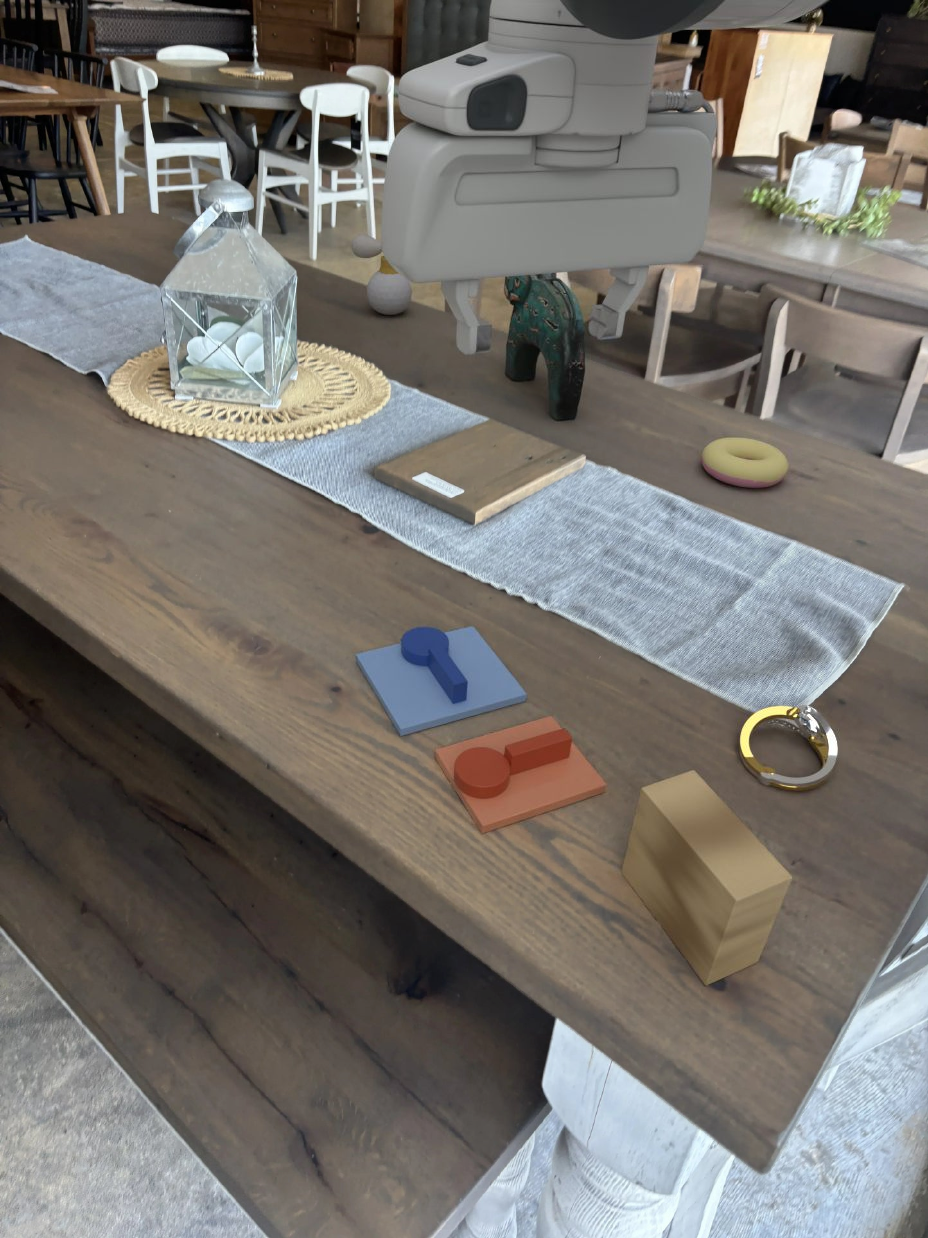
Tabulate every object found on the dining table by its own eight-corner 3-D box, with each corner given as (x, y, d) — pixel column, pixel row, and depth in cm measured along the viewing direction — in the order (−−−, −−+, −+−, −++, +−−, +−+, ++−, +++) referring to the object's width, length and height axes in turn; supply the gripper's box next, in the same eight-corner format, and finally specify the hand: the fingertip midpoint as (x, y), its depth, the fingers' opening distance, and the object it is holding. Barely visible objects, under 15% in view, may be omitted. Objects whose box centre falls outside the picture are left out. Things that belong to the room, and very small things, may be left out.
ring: (805, 817, 66) (850, 749, 70) (813, 790, 64) (859, 722, 68) (718, 771, 70) (767, 709, 74) (723, 744, 68) (773, 682, 72)
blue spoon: (482, 696, 72) (484, 676, 71) (436, 708, 71) (437, 689, 70) (436, 633, 79) (437, 614, 78) (394, 643, 77) (394, 624, 76)
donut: (772, 512, 106) (781, 470, 113) (789, 481, 103) (796, 439, 109) (691, 484, 108) (704, 444, 114) (704, 453, 104) (716, 413, 111)
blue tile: (526, 701, 73) (527, 693, 73) (400, 736, 69) (400, 729, 69) (472, 632, 81) (473, 625, 80) (355, 661, 76) (355, 653, 76)
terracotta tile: (605, 792, 66) (607, 784, 65) (482, 834, 62) (482, 826, 61) (550, 723, 71) (551, 715, 71) (434, 757, 68) (434, 749, 67)
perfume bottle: (414, 319, 151) (416, 243, 144) (356, 320, 149) (355, 243, 142) (407, 305, 157) (408, 232, 150) (351, 306, 155) (349, 231, 148)
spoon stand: (758, 962, 55) (793, 877, 50) (705, 986, 53) (736, 901, 49) (670, 853, 61) (693, 769, 57) (620, 872, 60) (640, 787, 55)
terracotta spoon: (552, 735, 69) (555, 715, 68) (579, 770, 66) (583, 750, 65) (444, 767, 66) (445, 747, 64) (468, 805, 63) (470, 785, 62)
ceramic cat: (493, 370, 134) (503, 226, 122) (533, 367, 135) (547, 224, 124) (547, 424, 119) (565, 265, 107) (592, 420, 120) (614, 263, 109)
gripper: (688, 83, 55) (648, 314, 63) (369, 78, 47) (370, 342, 55) (758, 96, 50) (705, 344, 58) (417, 93, 42) (411, 379, 50)
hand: (540, 343), depth 57 cm, fingers open, 8 cm apart
